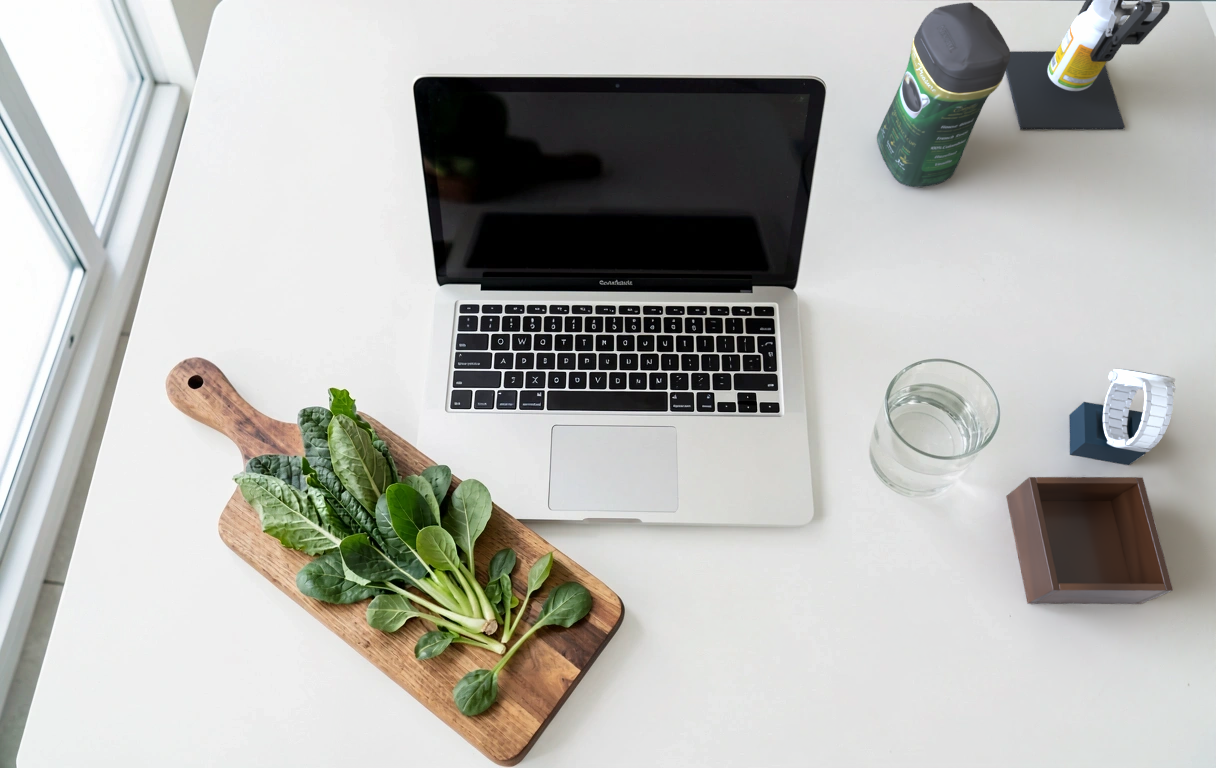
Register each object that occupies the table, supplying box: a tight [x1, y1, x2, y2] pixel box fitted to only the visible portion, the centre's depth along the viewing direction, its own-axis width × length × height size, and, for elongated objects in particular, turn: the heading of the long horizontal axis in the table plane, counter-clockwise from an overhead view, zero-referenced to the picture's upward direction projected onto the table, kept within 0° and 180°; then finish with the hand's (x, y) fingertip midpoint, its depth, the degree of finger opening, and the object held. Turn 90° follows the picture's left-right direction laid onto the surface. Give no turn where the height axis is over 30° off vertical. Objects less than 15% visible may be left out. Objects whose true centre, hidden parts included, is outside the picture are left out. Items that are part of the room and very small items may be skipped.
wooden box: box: [1006, 476, 1174, 605], centre depth 81 cm, size 10×10×5 cm
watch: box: [1068, 368, 1176, 466], centre depth 83 cm, size 6×8×11 cm
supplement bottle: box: [1048, 0, 1129, 91], centre depth 101 cm, size 5×5×10 cm
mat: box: [1005, 50, 1126, 131], centre depth 108 cm, size 12×12×1 cm
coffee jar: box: [876, 1, 1011, 188], centre depth 95 cm, size 10×8×19 cm
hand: (1092, 38), depth 101 cm, fingers closed on supplement bottle, 5 cm apart
